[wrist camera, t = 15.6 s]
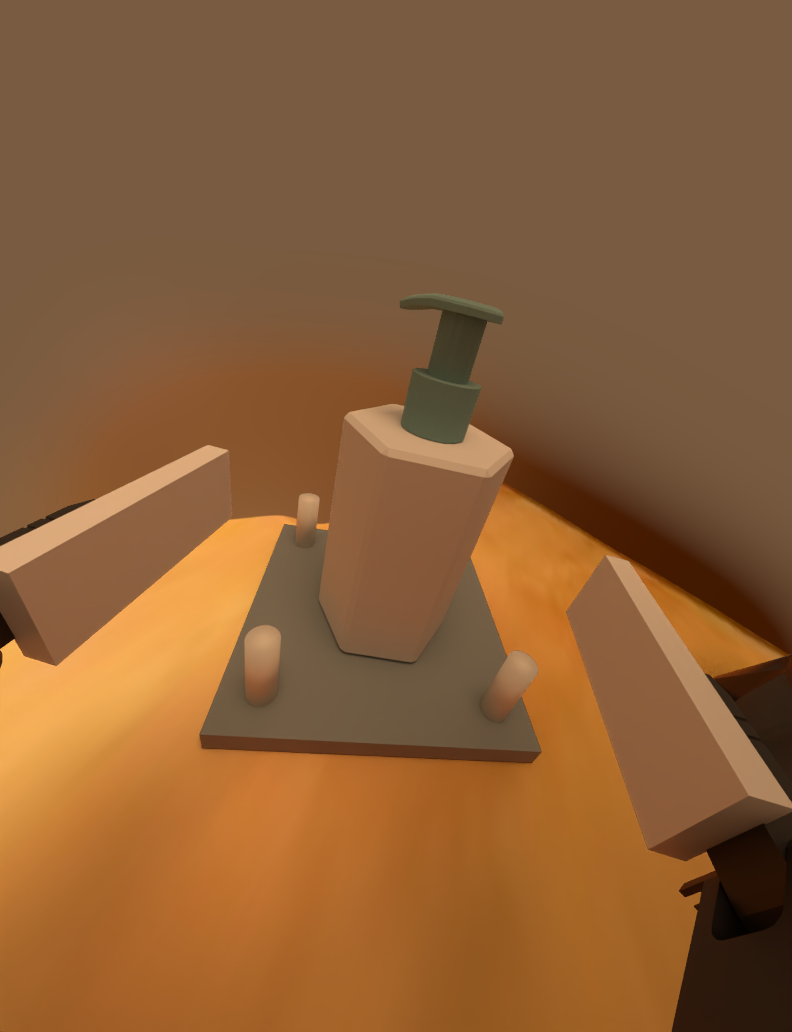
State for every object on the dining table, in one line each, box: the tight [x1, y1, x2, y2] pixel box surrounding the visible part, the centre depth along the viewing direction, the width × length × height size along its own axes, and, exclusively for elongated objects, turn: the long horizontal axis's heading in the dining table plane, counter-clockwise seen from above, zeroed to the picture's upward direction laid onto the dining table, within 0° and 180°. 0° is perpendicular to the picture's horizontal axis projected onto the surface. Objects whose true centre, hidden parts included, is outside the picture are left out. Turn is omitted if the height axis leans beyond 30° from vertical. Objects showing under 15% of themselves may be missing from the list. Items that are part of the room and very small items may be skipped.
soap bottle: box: [319, 294, 514, 662], centre depth 22 cm, size 10×9×22 cm
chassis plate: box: [200, 493, 542, 763], centre depth 27 cm, size 20×20×6 cm
